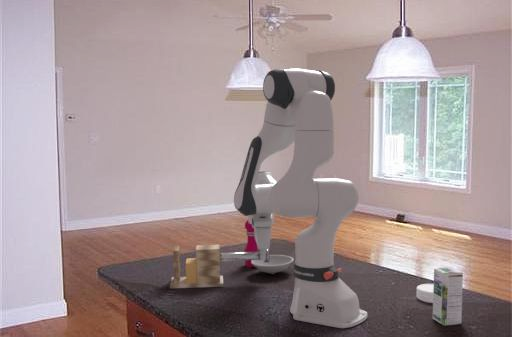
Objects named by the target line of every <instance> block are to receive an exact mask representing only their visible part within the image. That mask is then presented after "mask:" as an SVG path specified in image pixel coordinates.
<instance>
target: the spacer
mask: <svg viewBox="0 0 512 337" xmlns="http://www.w3.org/2000/svg"><path fill="white" fill-rule="evenodd" d="M185 277H186V284H191V283H196V282H197V273H196V257H193V258H191V257H189V258H186V261H185Z"/></svg>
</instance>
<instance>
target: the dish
mask: <svg viewBox="0 0 512 337" xmlns="http://www.w3.org/2000/svg"><path fill="white" fill-rule="evenodd" d="M294 259H295V258H294V257H292V256H289V255H285V254H269V263H264V261H261V260H252V261H251V263H252V264H253V265H254V266H255V268H257V270H258V271H260V272H263V273H266V274H270V275H275V274H277V273H280V272H282V271H284V270H286V269H287V268H288V267H289V266H290V265H291V264H292V263H293V262H295V260H294Z"/></svg>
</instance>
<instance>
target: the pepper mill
mask: <svg viewBox="0 0 512 337" xmlns="http://www.w3.org/2000/svg"><path fill="white" fill-rule="evenodd" d="M244 228H245V229H246V230H245V231H246V236H247V242H246V246H245V247H244V251H243V252H258V247H257V243H256V240H255V237H254V228H253V227H252V224H250V223H249V219H247V220H246V221H245V223H244ZM251 261H252V260H244V267H246V266H247V268H251V267H255V266H254V265H253V264H252V263H251ZM255 268H256V267H255Z"/></svg>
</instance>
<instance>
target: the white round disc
mask: <svg viewBox="0 0 512 337" xmlns="http://www.w3.org/2000/svg"><path fill="white" fill-rule="evenodd" d="M433 289H434V283H422V284H419V285H417V286H416V296H415V297H416V298H417V299H418V300H419V301H422V302H425V303H429V304H430V303H431V304H433Z"/></svg>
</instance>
